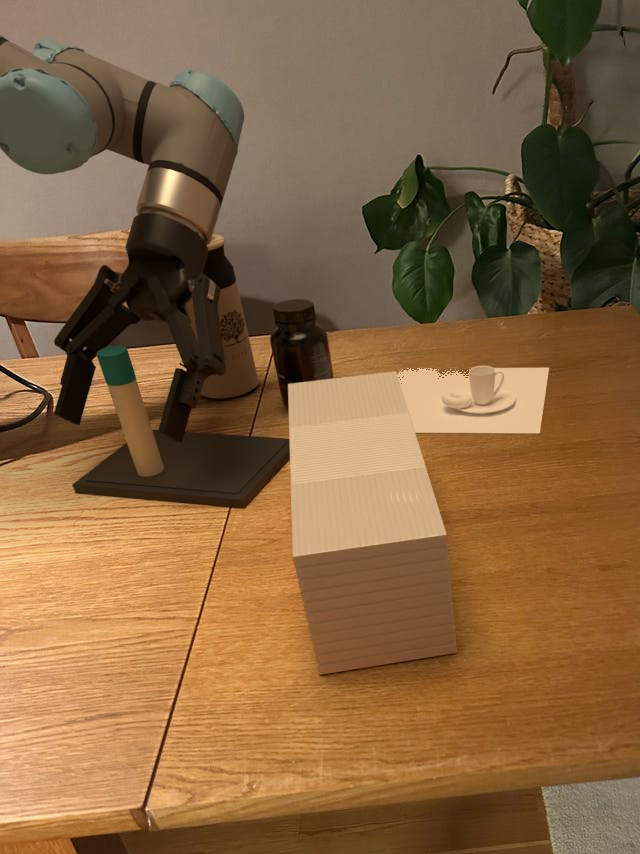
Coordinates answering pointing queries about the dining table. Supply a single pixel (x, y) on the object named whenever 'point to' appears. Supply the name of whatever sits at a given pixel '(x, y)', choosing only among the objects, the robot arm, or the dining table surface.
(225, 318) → the travel mug
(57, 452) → the dining table surface
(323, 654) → the stack of papers
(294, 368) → the supplement bottle
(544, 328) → the dining table surface
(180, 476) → the black cutting board
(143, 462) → the marker
